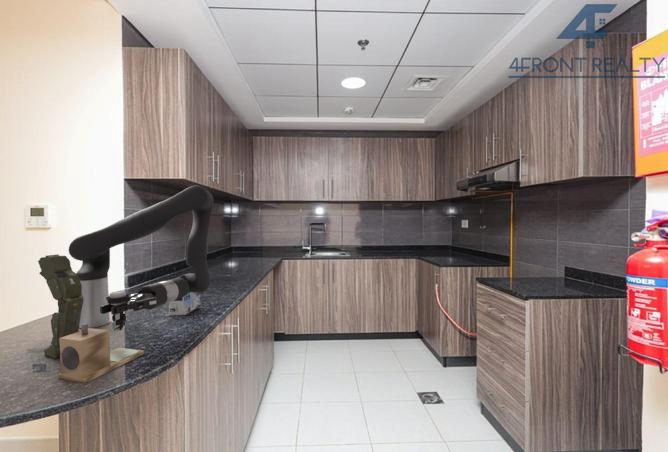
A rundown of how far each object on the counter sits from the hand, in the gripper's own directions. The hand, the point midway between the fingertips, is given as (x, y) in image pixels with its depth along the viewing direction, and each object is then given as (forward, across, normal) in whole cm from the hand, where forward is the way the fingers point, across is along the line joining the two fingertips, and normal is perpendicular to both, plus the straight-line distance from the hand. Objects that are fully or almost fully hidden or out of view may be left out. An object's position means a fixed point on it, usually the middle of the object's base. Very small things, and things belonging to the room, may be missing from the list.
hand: (107, 310), depth 84 cm
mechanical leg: (-2, -19, +14) cm, 24 cm away
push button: (-3, 0, +6) cm, 7 cm away
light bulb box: (-44, -15, +15) cm, 48 cm away
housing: (+1, 0, +14) cm, 14 cm away
